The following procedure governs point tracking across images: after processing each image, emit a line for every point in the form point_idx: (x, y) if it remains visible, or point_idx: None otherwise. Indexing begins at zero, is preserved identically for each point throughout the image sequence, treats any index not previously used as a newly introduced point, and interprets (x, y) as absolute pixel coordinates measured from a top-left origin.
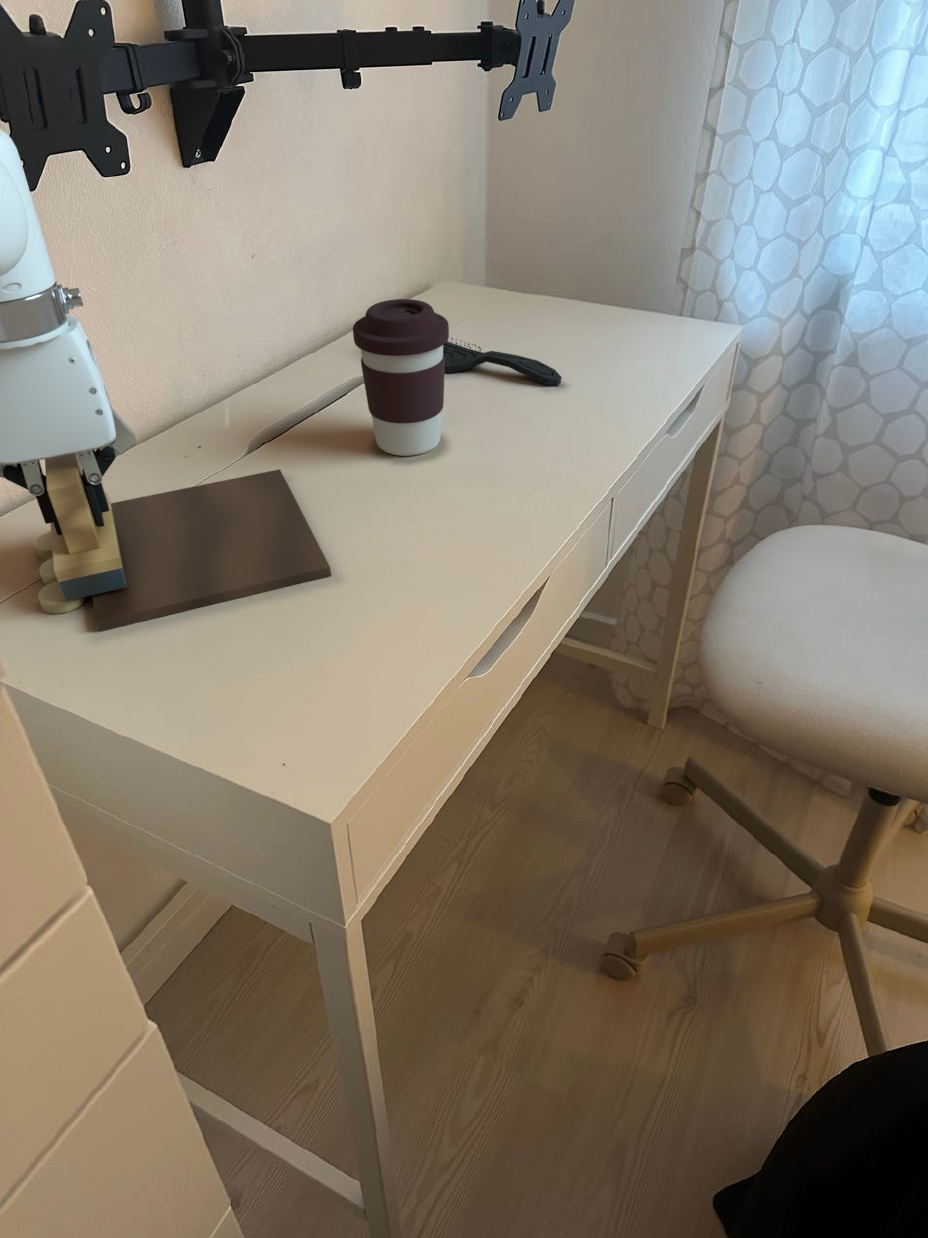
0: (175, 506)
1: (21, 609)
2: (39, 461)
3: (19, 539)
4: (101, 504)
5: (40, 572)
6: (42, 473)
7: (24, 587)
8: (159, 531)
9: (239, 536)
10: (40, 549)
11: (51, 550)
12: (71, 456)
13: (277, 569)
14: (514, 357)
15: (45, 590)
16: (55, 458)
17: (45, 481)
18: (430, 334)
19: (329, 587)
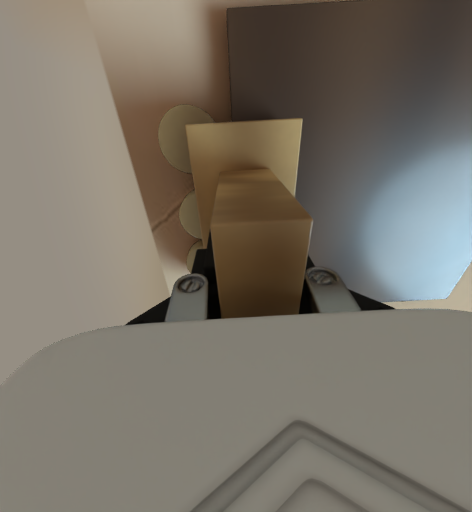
0: (388, 90)
1: (168, 255)
2: (208, 317)
3: (118, 66)
4: None
5: (182, 224)
6: (209, 297)
7: (162, 217)
8: (336, 170)
9: (415, 223)
10: (171, 164)
11: (188, 172)
12: (289, 306)
13: (407, 290)
14: None
15: (193, 260)
16: (247, 303)
17: (217, 318)
18: None
19: (424, 303)
